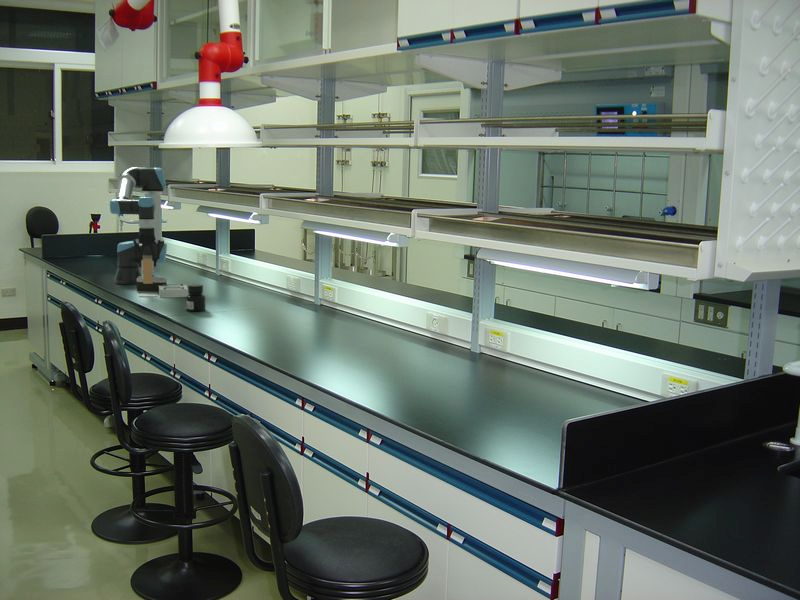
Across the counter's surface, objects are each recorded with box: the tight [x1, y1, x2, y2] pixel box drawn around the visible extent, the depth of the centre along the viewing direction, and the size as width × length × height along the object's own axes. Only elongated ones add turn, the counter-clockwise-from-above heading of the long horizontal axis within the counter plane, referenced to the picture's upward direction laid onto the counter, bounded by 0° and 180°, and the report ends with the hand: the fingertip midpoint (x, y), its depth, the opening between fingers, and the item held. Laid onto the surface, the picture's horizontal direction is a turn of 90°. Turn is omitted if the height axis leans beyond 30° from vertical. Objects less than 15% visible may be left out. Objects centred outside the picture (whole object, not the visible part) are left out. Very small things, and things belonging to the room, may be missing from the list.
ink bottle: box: [185, 283, 206, 313], centre depth 378 cm, size 10×9×12 cm
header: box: [158, 283, 189, 298], centre depth 419 cm, size 14×14×5 cm
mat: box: [138, 292, 159, 298], centre depth 415 cm, size 9×9×1 cm
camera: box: [136, 273, 168, 294], centre depth 427 cm, size 16×9×10 cm, turn 90°
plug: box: [142, 255, 153, 284], centre depth 413 cm, size 5×5×14 cm
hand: (147, 272), depth 413 cm, fingers closed on plug, 4 cm apart
